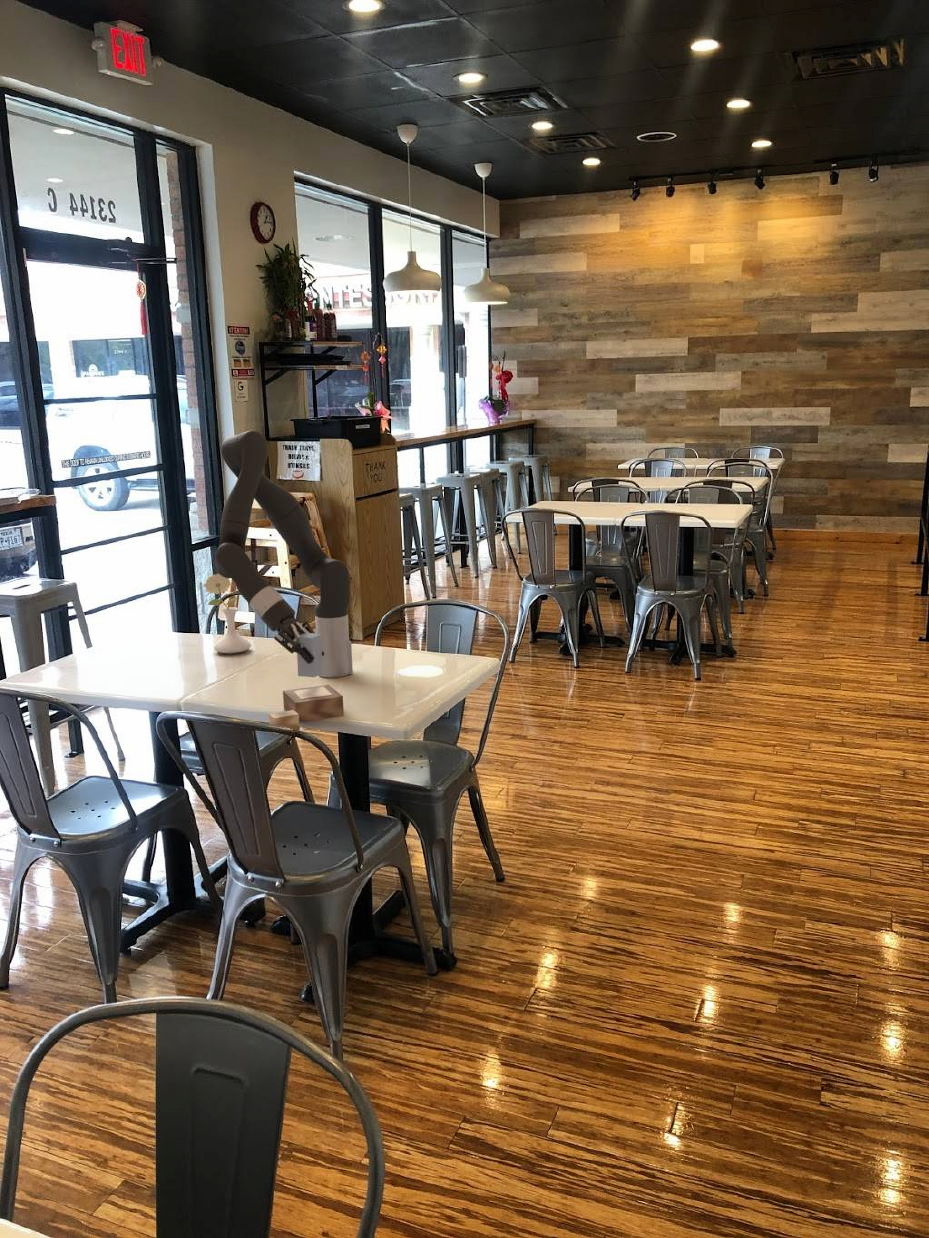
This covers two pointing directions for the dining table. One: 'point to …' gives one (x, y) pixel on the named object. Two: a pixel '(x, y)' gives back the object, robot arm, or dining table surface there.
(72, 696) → the dining table surface
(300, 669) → the pillar
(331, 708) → the plinth
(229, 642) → the flower in vase
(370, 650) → the dining table surface
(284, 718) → the oak block
